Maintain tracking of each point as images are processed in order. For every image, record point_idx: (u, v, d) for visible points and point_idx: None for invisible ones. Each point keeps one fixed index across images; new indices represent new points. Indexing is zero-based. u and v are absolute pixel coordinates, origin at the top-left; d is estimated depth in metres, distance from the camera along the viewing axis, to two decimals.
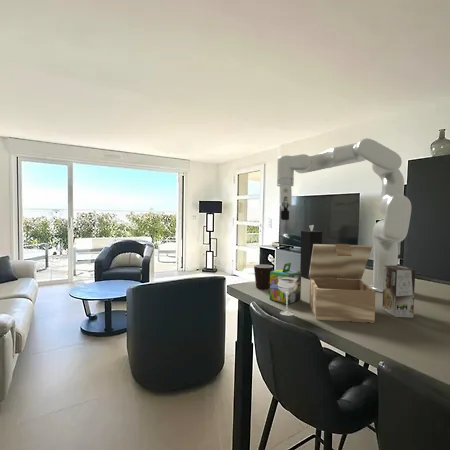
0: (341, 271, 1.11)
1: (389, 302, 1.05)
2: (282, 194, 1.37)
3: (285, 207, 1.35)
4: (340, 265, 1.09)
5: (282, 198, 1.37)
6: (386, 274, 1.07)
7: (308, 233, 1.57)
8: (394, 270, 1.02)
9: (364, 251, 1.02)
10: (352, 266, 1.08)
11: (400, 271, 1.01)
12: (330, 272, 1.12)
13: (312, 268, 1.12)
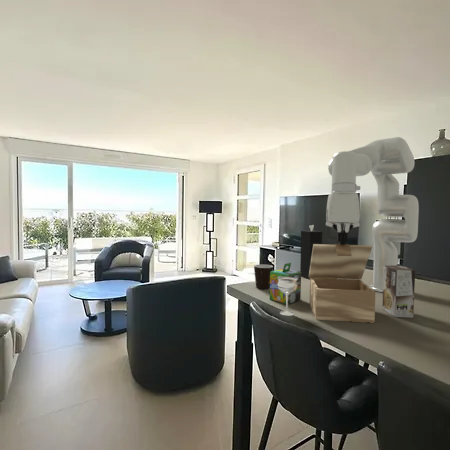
0: (341, 271, 1.11)
1: (389, 302, 1.05)
2: None
3: None
4: (340, 265, 1.09)
5: None
6: (386, 274, 1.07)
7: (308, 233, 1.57)
8: (394, 270, 1.02)
9: (364, 251, 1.02)
10: (352, 266, 1.08)
11: (400, 271, 1.01)
12: (330, 272, 1.12)
13: (312, 268, 1.12)
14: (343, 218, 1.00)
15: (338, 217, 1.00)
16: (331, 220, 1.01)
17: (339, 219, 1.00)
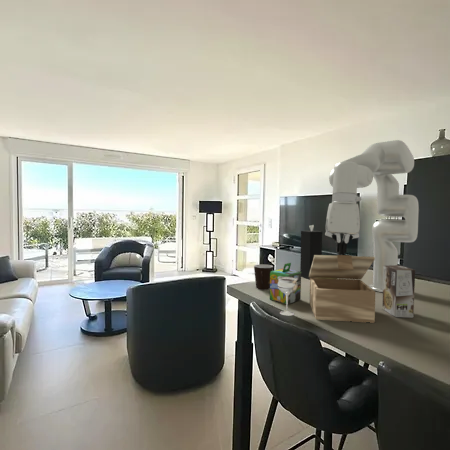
0: (342, 274, 1.10)
1: (389, 302, 1.05)
2: None
3: None
4: (341, 270, 1.07)
5: (359, 222, 0.99)
6: (386, 274, 1.07)
7: (308, 233, 1.57)
8: (394, 270, 1.02)
9: (366, 261, 1.00)
10: (353, 271, 1.07)
11: (400, 271, 1.01)
12: (331, 274, 1.11)
13: (312, 271, 1.11)
14: (343, 228, 0.99)
15: (338, 227, 0.99)
16: (331, 230, 1.00)
17: (339, 229, 0.99)
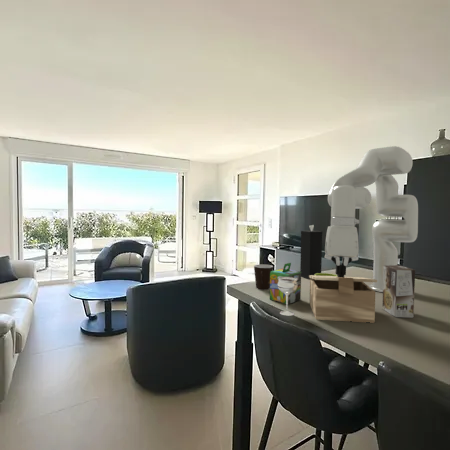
0: None
1: (389, 302, 1.05)
2: None
3: None
4: None
5: None
6: (386, 274, 1.07)
7: (308, 233, 1.57)
8: (394, 270, 1.02)
9: None
10: None
11: (400, 271, 1.01)
12: None
13: None
14: (342, 252, 1.00)
15: (337, 251, 1.00)
16: (330, 253, 1.01)
17: (338, 253, 1.00)
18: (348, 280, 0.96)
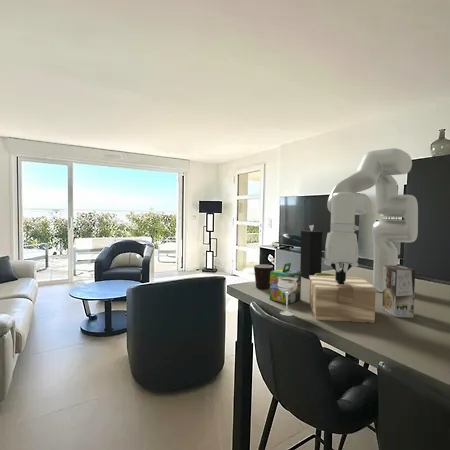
0: None
1: (389, 302, 1.05)
2: (357, 246, 1.00)
3: None
4: None
5: None
6: (386, 274, 1.07)
7: (308, 233, 1.57)
8: (394, 270, 1.02)
9: None
10: None
11: (400, 271, 1.01)
12: None
13: None
14: (342, 258, 1.00)
15: (337, 257, 1.01)
16: (330, 260, 1.01)
17: (338, 259, 1.01)
18: (348, 290, 0.96)
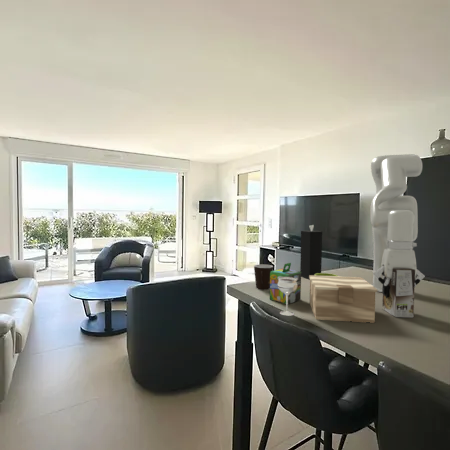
0: None
1: (389, 302, 1.05)
2: None
3: None
4: None
5: None
6: None
7: (308, 233, 1.57)
8: (394, 270, 1.02)
9: None
10: None
11: (400, 271, 1.01)
12: None
13: None
14: None
15: None
16: (388, 276, 1.04)
17: None
18: (348, 290, 0.96)
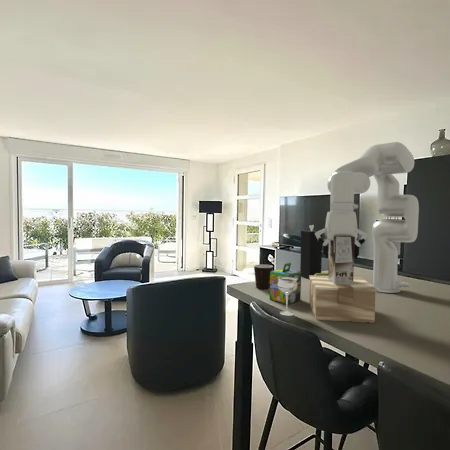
0: None
1: (331, 270, 1.05)
2: None
3: None
4: None
5: (357, 230, 1.02)
6: (330, 243, 1.07)
7: (308, 233, 1.57)
8: (334, 237, 1.02)
9: None
10: None
11: (339, 238, 1.00)
12: None
13: None
14: None
15: (336, 235, 1.03)
16: (330, 238, 1.03)
17: None
18: (348, 290, 0.96)
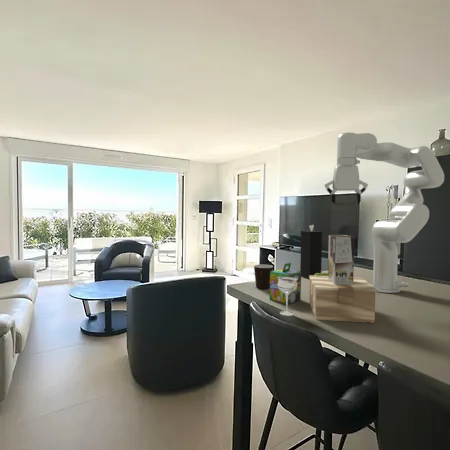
0: None
1: (331, 270, 1.05)
2: None
3: (364, 190, 1.27)
4: None
5: (359, 180, 1.26)
6: (330, 243, 1.07)
7: (308, 233, 1.57)
8: (334, 237, 1.02)
9: None
10: None
11: (339, 238, 1.00)
12: None
13: None
14: (346, 186, 1.26)
15: (342, 185, 1.26)
16: (337, 187, 1.27)
17: (343, 186, 1.26)
18: (348, 290, 0.96)
